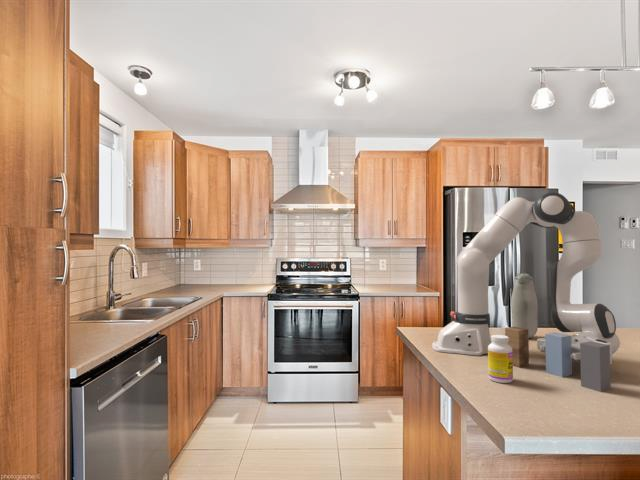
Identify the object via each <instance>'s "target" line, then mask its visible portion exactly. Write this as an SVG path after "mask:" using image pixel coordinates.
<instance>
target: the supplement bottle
mask: <svg viewBox="0 0 640 480" xmlns="http://www.w3.org/2000/svg"><path fill="white" fill-rule="evenodd" d="M490 338H491V344H489V346H488V353H487V368H488V369H487V372H488V373H487V376H488V379H489V380H490V381H492V382H495V383H499V384H509V383H512V382H513V379H514V366H513V352H512V347H511V346H509V345H508V341H509V337H507V336H505V334H492V335H490Z"/></svg>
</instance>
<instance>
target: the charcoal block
mask: <svg viewBox="0 0 640 480" xmlns="http://www.w3.org/2000/svg"><path fill="white" fill-rule="evenodd" d="M579 362H580V386H581V387H583V388H586V389H590V390H593V391H596V392H598V393H599V392H600V393H602V392H605V391H608V390H611V389H612V387H611V386H612V385H611V383H612V382H611V364H610V345H606V344H601V343H596V342H591V341H589V342H584V343H580V361H579Z"/></svg>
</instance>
